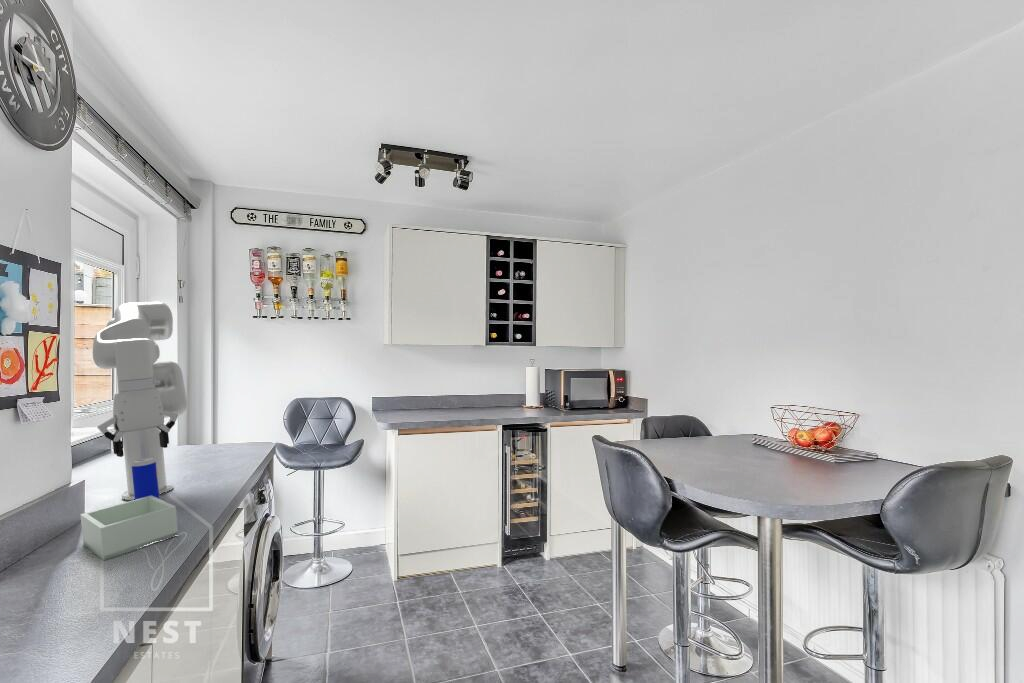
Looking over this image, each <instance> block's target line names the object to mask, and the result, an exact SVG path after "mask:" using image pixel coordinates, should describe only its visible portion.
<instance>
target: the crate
mask: <svg viewBox="0 0 1024 683" xmlns="http://www.w3.org/2000/svg"><path fill="white" fill-rule="evenodd" d="M79 516H80V523H81V524H80V526H81V533H82V545H84V546H85V547H86V548H87V549H89V550H90V551H91V552H93V553H94V554H95V555H96V556H97V557H99V558H100V559H101V560H102V561H108V560H110V559H113V558H116V557H119V556H122V555H125V553H126V554H128V552H129V553H131V551H132V552H134V551H133V550H135V549H137V548H140V547H143V546H144V545H147V544H150V543H152V542H155V541H160V540H164V539H167V538H171V537H173V536H175V535H179V527H178V526H179V525H178V517H177V516H178V515H177V506H175V505H173V504H171V503H169V502H167V501H166V500H165V501H164V500H162V499H161V498H159V499H158V498H156V497H154V496H152V495H151V496H147V497H143V498H140V499H136V500H127V501H125V502H121V503H118V504H114V505H110V506H106V507H103V508H99V509H96V510H91V511H88V512H85V513H80V515H79ZM171 539H172V538H171ZM135 551H136V550H135Z"/></svg>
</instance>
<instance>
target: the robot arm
mask: <svg viewBox="0 0 1024 683" xmlns="http://www.w3.org/2000/svg"><path fill="white" fill-rule="evenodd" d="M173 323H174V319H173V313H172V310H171V309H170V306H168V305H167V303H164V302H161V301H154V302H153V301H152V302H151V301H150V302H149V301H148V302H147V301H144V302H126V303H122V304H120V305H118V307H117V308H116V309H115V310H114V315H113V318H112V319H110V320H109V321H108V322H107V324H106V327H105V328H103V329H101V330H100V331H98V332H97V333H96V335H94V336H95V337H94V339H93V344H92V359H93V360H92V361H93V362H94V364H95V365H96V366H97V367H98V368H100V369H104V370H109V369H110V370H111V369H116V377H117V380H116V381H117V389H118V393H115V394H114V397H113V405H112V406H113V407H112V417H111V418H109V419H107V420H105V421H104V422H102V423H100V424H99V425H98V426H97V429H98V430H99V432H100V433H101V434H102V435H103V437H105V438H107V439H109V440H110V441H112V448H113V454H114V455H116V457H119V458H121V457H124V463H125V465H124V466H125V473H126V484H127V491H126V490H125V491H124V492H122V494H121V499H122V500H124V499H125V501H132V500H134V499H135V496H134V485H133V475H132V462H133V461H135V460H138V459H142V458H150V457H152V458H154V459H155V461H156V468H157V479H158V489H159V494H160V493H163V492H166V493H168V492H170V491H172V490H173V488H174V485H173V483H171V482H167V476H166V475H167V474H166V466H165V455H164V454H165V453H164V449H166V448H168V445H169V444H170V440H169V437H170V436H169V432H170V431H171V430H172V428H173V427H174V426H175V424H176V422H177V420H178V418H179V416H181V415H183V414H184V413H185V412H186V411H187V407H188V406H187V405H188V401H187V394H186V386H185V380H184V376H183V372H182V368H181V366H180V365H179V364H178V363H177V362H174V361H158V359H159V358H160V355H161V354H160V347H159V344H158V343H157V342H155V341H165V340H168V339H170V338H171V336H172V334H173V330H174V329H173V327H174V326H173V325H174V324H173ZM167 418H169V420H168V422H166V424H164V423H165V419H167ZM112 425H113V429H114V431H115V432H114V433H112V432H110V431H109V430H108V428H109V427H110V426H112ZM121 438H122V440H121ZM169 490H170V491H169ZM167 491H168V492H167ZM163 494H164V493H163Z"/></svg>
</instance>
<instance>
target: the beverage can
mask: <svg viewBox="0 0 1024 683" xmlns="http://www.w3.org/2000/svg"><path fill="white" fill-rule="evenodd" d="M132 475H133V485H134V496H135V500H136V499H140V498H143V497H147V496H151V495H152V496H154V497H156V498H158V499H160V495H159V489H158V479H157V468H156V461H155V459H154V458H152V457H150V458H142V459H138V460H135V461H133V462H132Z"/></svg>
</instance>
